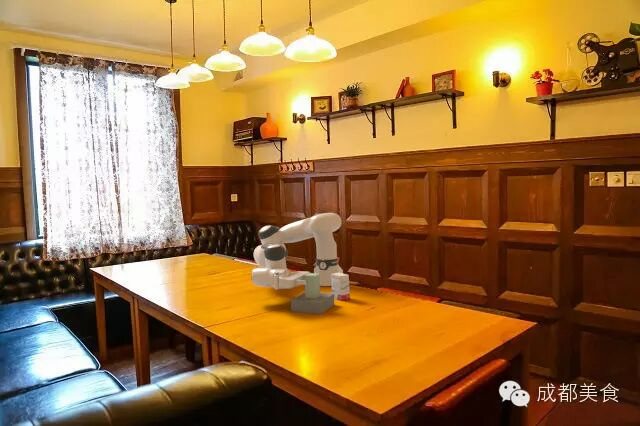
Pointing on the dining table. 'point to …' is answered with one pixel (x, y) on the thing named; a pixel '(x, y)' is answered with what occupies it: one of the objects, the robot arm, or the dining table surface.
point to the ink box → (340, 286)
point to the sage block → (312, 285)
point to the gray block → (312, 303)
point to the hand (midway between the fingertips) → (311, 280)
